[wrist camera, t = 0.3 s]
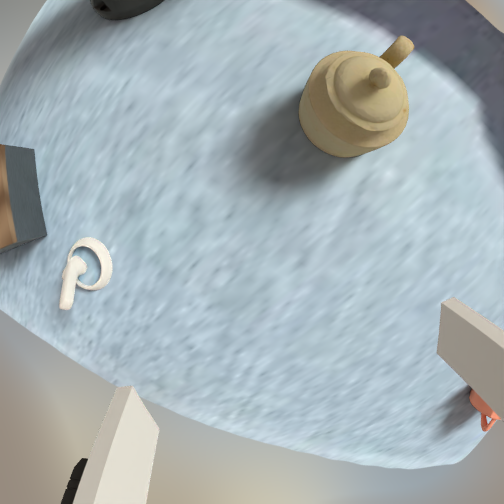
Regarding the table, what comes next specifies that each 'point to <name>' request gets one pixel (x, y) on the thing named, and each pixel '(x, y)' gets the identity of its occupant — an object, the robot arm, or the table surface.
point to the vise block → (19, 198)
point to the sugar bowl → (356, 101)
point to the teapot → (483, 410)
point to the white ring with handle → (83, 271)
